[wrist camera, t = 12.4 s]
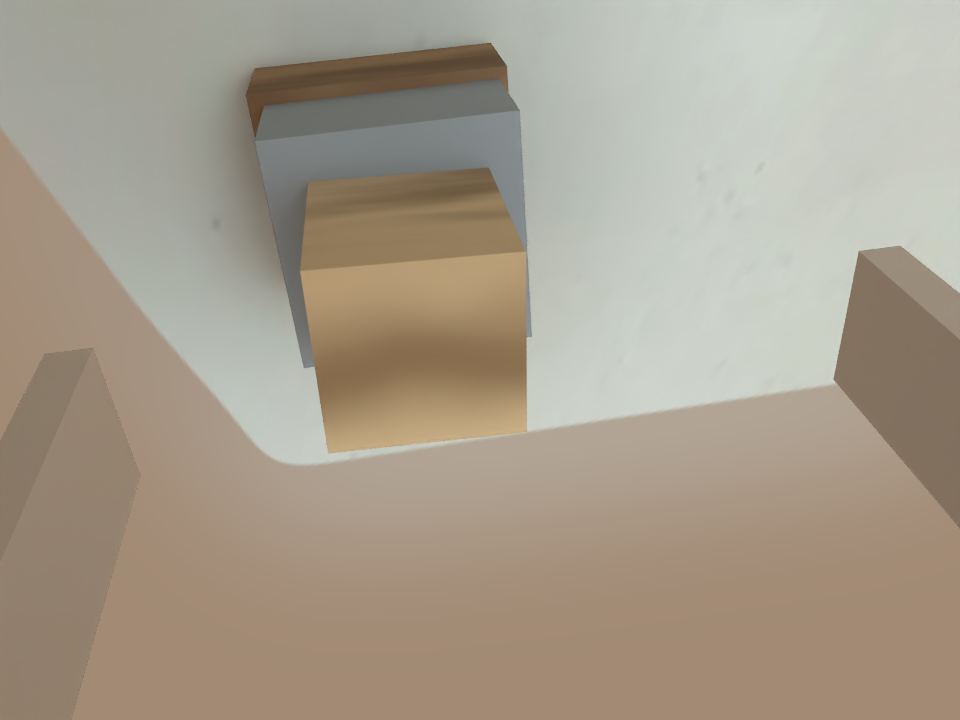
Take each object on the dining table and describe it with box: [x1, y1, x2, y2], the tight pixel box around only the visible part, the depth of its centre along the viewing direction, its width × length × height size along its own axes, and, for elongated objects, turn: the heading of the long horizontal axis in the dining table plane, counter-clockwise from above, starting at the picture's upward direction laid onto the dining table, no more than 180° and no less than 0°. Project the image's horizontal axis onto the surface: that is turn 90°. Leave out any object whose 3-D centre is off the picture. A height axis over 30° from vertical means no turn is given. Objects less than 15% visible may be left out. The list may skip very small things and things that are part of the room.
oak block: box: [300, 168, 527, 453], centre depth 32 cm, size 7×7×8 cm
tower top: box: [254, 78, 532, 368], centre depth 37 cm, size 10×10×5 cm
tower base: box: [246, 43, 508, 137], centre depth 42 cm, size 11×11×5 cm
